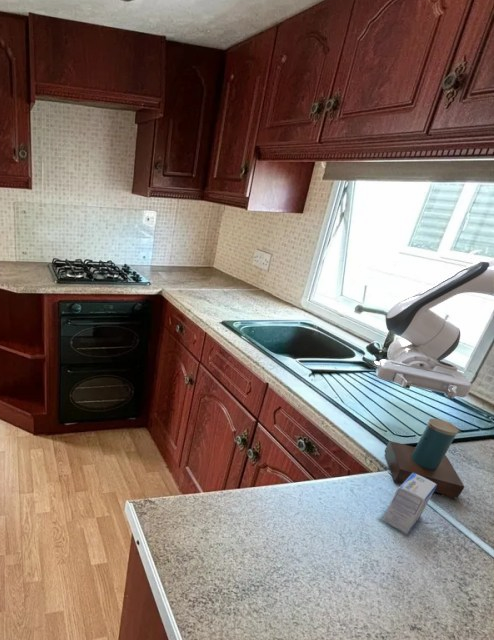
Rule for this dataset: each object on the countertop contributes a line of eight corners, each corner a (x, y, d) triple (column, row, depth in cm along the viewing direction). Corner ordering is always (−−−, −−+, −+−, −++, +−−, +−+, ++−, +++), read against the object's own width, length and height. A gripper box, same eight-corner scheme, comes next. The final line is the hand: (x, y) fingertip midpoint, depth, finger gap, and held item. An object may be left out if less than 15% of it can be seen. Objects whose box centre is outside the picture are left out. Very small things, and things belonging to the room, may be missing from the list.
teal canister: (434, 458, 93) (454, 422, 89) (441, 472, 89) (462, 435, 84) (407, 452, 95) (425, 416, 90) (413, 465, 90) (433, 427, 86)
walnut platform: (438, 468, 97) (446, 455, 95) (456, 501, 87) (464, 486, 85) (383, 453, 100) (389, 440, 99) (393, 483, 90) (400, 469, 88)
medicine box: (406, 535, 76) (425, 500, 73) (381, 520, 79) (398, 486, 76) (419, 517, 81) (438, 484, 77) (395, 503, 84) (412, 471, 80)
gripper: (376, 349, 112) (386, 368, 100) (463, 367, 106) (484, 389, 94) (368, 370, 114) (376, 390, 103) (452, 388, 108) (471, 412, 97)
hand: (429, 390), depth 98 cm, fingers open, 8 cm apart
